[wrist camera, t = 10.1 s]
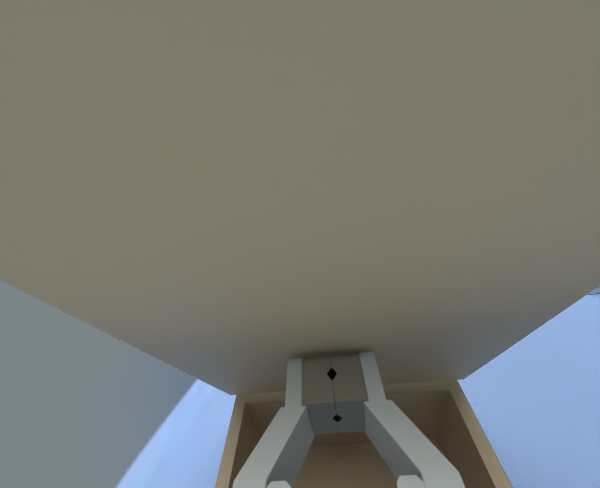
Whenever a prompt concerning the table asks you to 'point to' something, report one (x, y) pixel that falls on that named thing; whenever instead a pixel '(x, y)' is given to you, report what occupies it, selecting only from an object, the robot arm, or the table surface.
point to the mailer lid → (302, 176)
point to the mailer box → (360, 450)
